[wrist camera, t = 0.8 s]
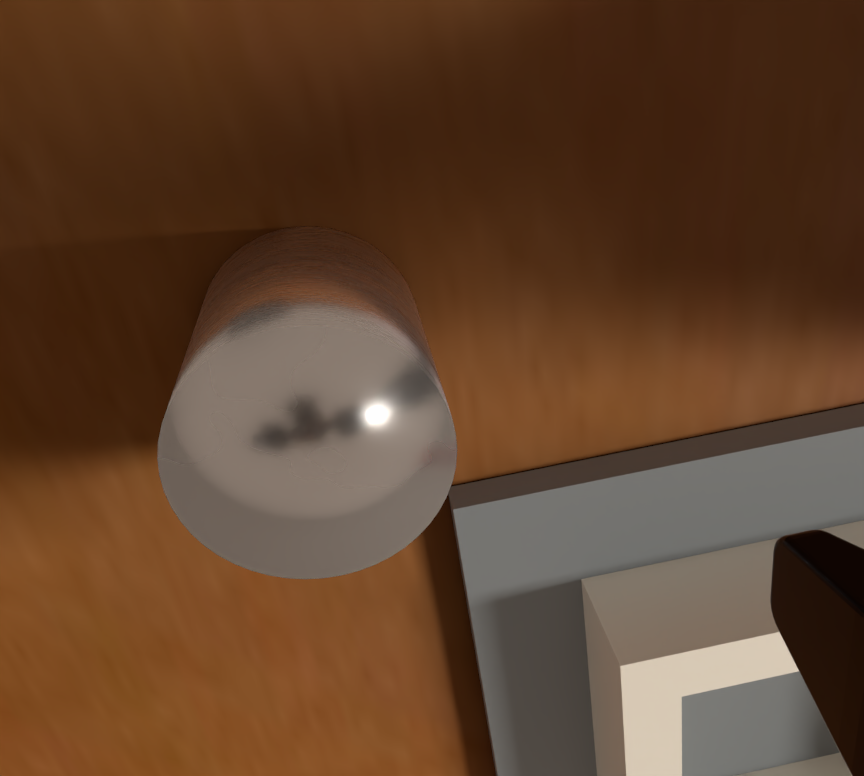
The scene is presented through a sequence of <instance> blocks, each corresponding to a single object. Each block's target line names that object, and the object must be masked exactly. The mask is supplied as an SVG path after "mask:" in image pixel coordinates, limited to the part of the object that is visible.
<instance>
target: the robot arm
mask: <svg viewBox="0 0 864 776" xmlns="http://www.w3.org/2000/svg"><path fill="white" fill-rule="evenodd" d="M770 603H771V610H772V614H773V618H774V621H775V624H776V626H777V628H778V630H779V632H780V634H781V636H782V638H783V640H784V642H785V644H786V646H787V648H788V650H789V652H790V654H791V656H792V658H793V660H794V662H795V664H796V666H797V668H798V670H799V672H800V674H801V676H802V678H803V680H804V682H805V684H806V686H807V688H808V690H809V692H810V694H811V696H812V698H813V700H814V702H815V704H816V706H817V708H818V710H819V712H820V714H821V716H822V718H823V720H824V722H825V724H826V726H827V728H828V730H829V732H830V734H831V736H832V738H833V740H834V742H835V744H836V746H837V748H838V750H839V752H840V754H841V756H842V757H843V759H844V761H845V763H846V765H847V767H848V769H849V771H850V773H851V774H852V776H864V549H863V548H861V547H858V546H856V545H854V544H852V543H850V542H848V541H846V540H843V539H841V538H839V537H837V536H835V535H833V534H831V533H828V532H826V531H823V530H809V531H805V532H800V533H795V534H790V535H785V536H782V537H781V538H779V539H778V540H777V541H776V543H775V546H774V551H773V566H772V581H771V597H770Z"/></svg>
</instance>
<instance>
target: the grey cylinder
mask: <svg viewBox="0 0 864 776" xmlns="http://www.w3.org/2000/svg"><path fill="white" fill-rule="evenodd" d="M456 458H457V443H456V433H455V429H454V425H453V420H452V417H451V413H450V410H449V407H448V404H447V401H446V398H445V395H444V392H443V388H442V385H441V382H440V379H439V376H438V373H437V370H436V366H435V363H434V360H433V357H432V354H431V351H430V348H429V345H428V341H427V338H426V335H425V332H424V329H423V326H422V323H421V319H420V316H419V313H418V310H417V307H416V304H415V301H414V298H413V295H412V293H411V290H410V288H409V286H408V284H407V282H406V280H405V279H404V277H403V275H402V274H401V272H400V271H399V270H398V269H397V267H396V266H395V265H394V263H393V262H392V261H391V260H390V259H389V258H388V257H387V256H386V255H385V254H383V253H382V252H381V251H379V250H378V249H377V248H375V247H374V246H373V245H371V244H369V243H368V242H366V241H364V240H362V239H361V238H359V237H356V236H354V235H351V234H349V233H346V232H343V231H339V230H336V229H332V228H325V227H317V226H300V227H291V228H285V229H281V230H277V231H273V232H270V233H268V234H265V235H263V236H260V237H258V238H256V239H254V240H253V241H251V242H249V243H247V244H245V245H244V246H243V247H242V248H240V249H239V250H238V251H236V252H235V253H234V254H233V255H232V256H231V257H230V258H229V259H228V260H227V261H226V262H225V263H224V264H223V265H222V267H221V268H220V269H219V271H218V272H217V273H216V275H215V276H214V278H213V280H212V282H211V284H210V286H209V288H208V291H207V293H206V296H205V299H204V302H203V305H202V308H201V310H200V313H199V316H198V319H197V322H196V325H195V328H194V331H193V334H192V337H191V340H190V343H189V346H188V348H187V351H186V354H185V357H184V360H183V363H182V366H181V369H180V372H179V375H178V378H177V381H176V384H175V387H174V389H173V392H172V395H171V398H170V401H169V404H168V407H167V410H166V413H165V416H164V419H163V422H162V425H161V430H160V435H159V440H158V467H159V475H160V479H161V482H162V486H163V489H164V492H165V495H166V497H167V499H168V501H169V503H170V505H171V508H172V509H173V511H174V512H175V514H176V515H177V517H178V518H179V520H180V521H181V523H182V524H183V525H184V526H185V527H186V528H187V529H188V531H189V532H190V533H191V534H192V535H193V536H194V537H195V538H196V539H197V540H199V541H200V542H201V543H202V544H203V545H204V546H206V547H207V548H208V549H210V550H211V551H213V552H214V553H216V554H217V555H219V556H220V557H222V558H224V559H226V560H228V561H230V562H232V563H234V564H236V565H238V566H241V567H244V568H246V569H249V570H251V571H255V572H259V573H262V574H266V575H270V576H277V577H283V578H294V579H317V578H328V577H334V576H341V575H345V574H348V573H352V572H356V571H359V570H362V569H365V568H367V567H370V566H373V565H375V564H377V563H379V562H381V561H383V560H385V559H387V558H389V557H391V556H392V555H394V554H396V553H397V552H399V551H400V550H402V549H403V548H405V547H406V546H407V545H408V544H410V543H411V542H412V541H413V540H414V539H416V538H417V537H418V536H419V535H420V534H421V533H422V532H423V531H424V530H425V529H426V527H427V526H428V525H429V524H430V523H431V521H432V520H433V519H434V517H435V516H436V515H437V513H438V512H439V510H440V508H441V507H442V505H443V503H444V501H445V499H446V498H447V495H448V492H449V490H450V487H451V484H452V482H453V477H454V473H455V468H456Z"/></svg>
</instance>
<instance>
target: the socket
mask: <svg viewBox="0 0 864 776" xmlns="http://www.w3.org/2000/svg"><path fill="white" fill-rule="evenodd" d="M448 495H449V501H450V507H451V513H452V519H453V525H454V531H455V537H456V542H457V548H458V554H459V560H460V566H461V572H462V578H463V584H464V589H465V595H466V601H467V607H468V613H469V619H470V625H471V631H472V636H473V642H474V648H475V654H476V660H477V666H478V672H479V678H480V683H481V689H482V695H483V701H484V707H485V713H486V719H487V725H488V730H489V736H490V742H491V748H492V754H493V760H494V766H495V772H496V776H852V774H851V773H850V771H849V769H848V767H847V765H846V763H845V761H844V759H843V757H842V756H841V754H840V752H839V750H838V748H837V746H836V744H835V742H834V740H833V738H832V736H831V734H830V732H829V730H828V728H827V726H826V724H825V722H824V720H823V718H822V716H821V714H820V712H819V710H818V708H817V706H816V704H815V702H814V700H813V698H812V696H811V694H810V692H809V690H808V688H807V686H806V684H805V682H804V680H803V678H802V676H801V674H800V672H799V670H798V668H797V666H796V664H795V662H794V660H793V658H792V656H791V654H790V652H789V650H788V648H787V646H786V644H785V642H784V640H783V638H782V636H781V634H780V632H779V630H778V628H777V626H776V624H775V621H774V618H773V614H772V610H771V603H770V597H771V581H772V566H773V551H774V546H775V543H776V541H777V540H778V539H779V538H781V537H782V536H785V535H790V534H795V533H800V532H805V531H809V530H823V531H826V532H828V533H831V534H833V535H835V536H837V537H839V538H841V539H843V540H846V541H848V542H850V543H852V544H854V545H856V546H858V547H861V548H863V549H864V404H859V405H854V406H849V407H844V408H839V409H834V410H829V411H824V412H819V413H814V414H809V415H804V416H799V417H794V418H789V419H785V420H780V421H775V422H770V423H765V424H760V425H755V426H750V427H745V428H740V429H735V430H730V431H725V432H720V433H715V434H710V435H705V436H700V437H695V438H690V439H685V440H680V441H675V442H670V443H665V444H660V445H655V446H650V447H645V448H641V449H636V450H631V451H626V452H621V453H616V454H611V455H606V456H601V457H596V458H591V459H586V460H581V461H576V462H571V463H566V464H561V465H556V466H551V467H546V468H541V469H536V470H531V471H526V472H521V473H516V474H511V475H506V476H501V477H497V478H492V479H487V480H482V481H477V482H472V483H467V484H462V485H457V486H452V487H450V490H449V492H448Z"/></svg>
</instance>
